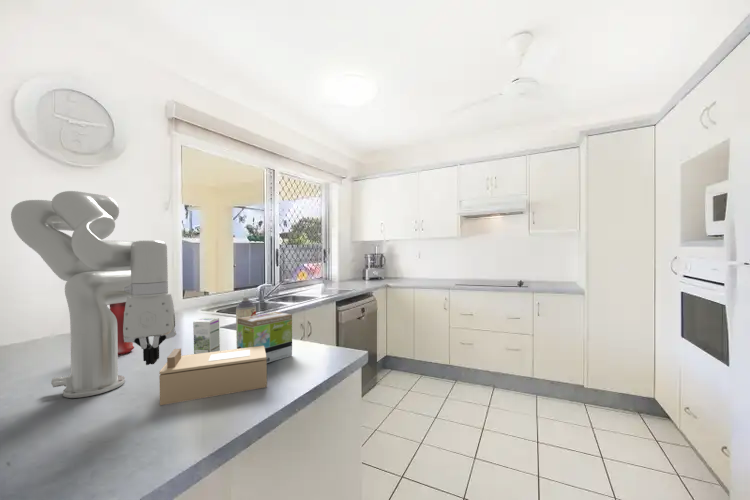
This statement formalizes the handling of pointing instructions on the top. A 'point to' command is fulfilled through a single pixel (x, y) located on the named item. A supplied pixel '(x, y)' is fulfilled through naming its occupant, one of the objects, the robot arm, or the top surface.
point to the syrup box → (206, 335)
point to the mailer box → (212, 381)
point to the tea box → (267, 334)
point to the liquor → (121, 328)
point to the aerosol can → (244, 310)
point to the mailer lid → (211, 359)
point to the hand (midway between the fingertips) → (151, 362)
